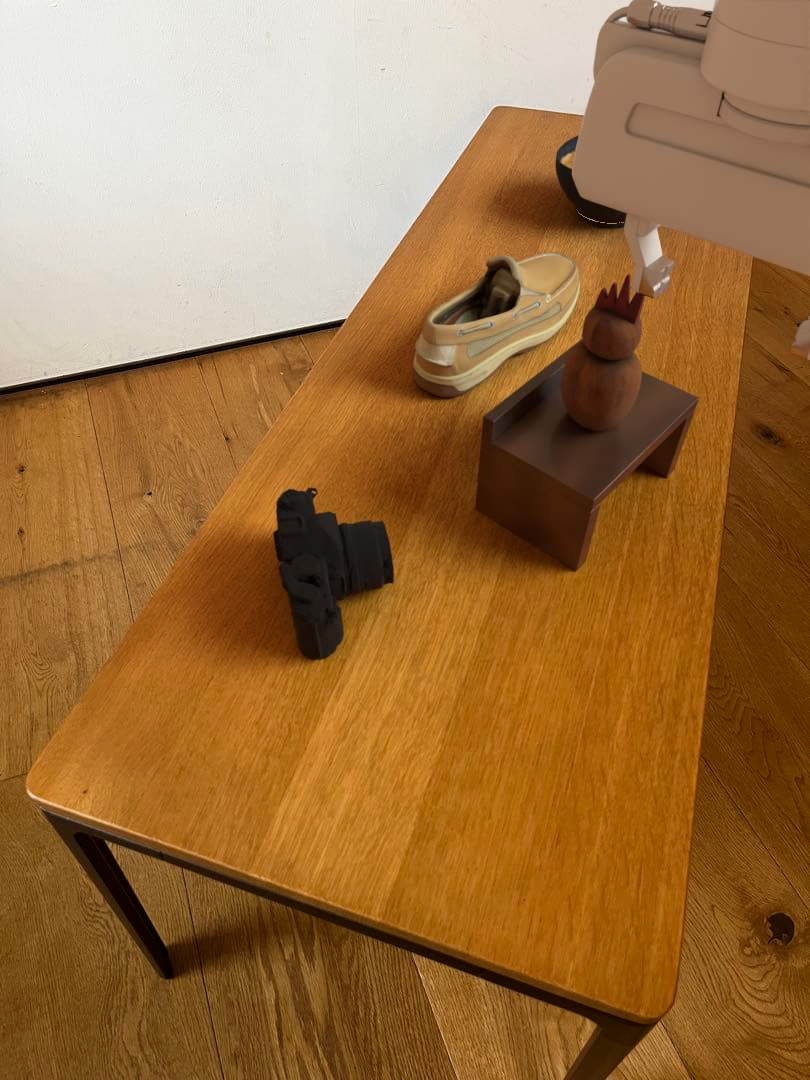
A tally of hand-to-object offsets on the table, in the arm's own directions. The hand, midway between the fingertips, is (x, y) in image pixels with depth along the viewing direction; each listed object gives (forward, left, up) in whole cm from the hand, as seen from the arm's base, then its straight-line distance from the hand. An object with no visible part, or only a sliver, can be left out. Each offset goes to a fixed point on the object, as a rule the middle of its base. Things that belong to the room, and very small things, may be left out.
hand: (724, 320), depth 43 cm
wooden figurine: (+13, -13, -23) cm, 29 cm away
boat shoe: (+34, -29, -32) cm, 55 cm away
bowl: (+42, -64, -32) cm, 83 cm away
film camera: (+22, +12, -32) cm, 40 cm away
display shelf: (+13, -13, -32) cm, 37 cm away
